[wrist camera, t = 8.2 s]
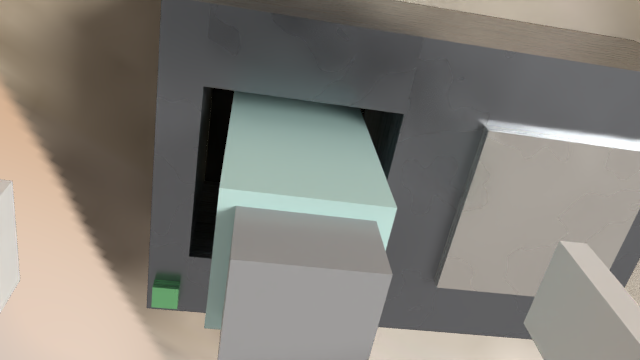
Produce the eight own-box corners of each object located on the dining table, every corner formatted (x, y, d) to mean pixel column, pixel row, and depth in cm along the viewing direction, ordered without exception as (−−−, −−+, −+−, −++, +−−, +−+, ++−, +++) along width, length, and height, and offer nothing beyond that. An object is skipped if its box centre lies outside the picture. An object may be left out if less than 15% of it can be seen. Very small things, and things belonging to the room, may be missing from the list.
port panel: (186, -35, 19) (158, -2, 14) (633, 40, 21) (738, 90, 16) (169, 225, 23) (144, 316, 19) (539, 263, 26) (600, 352, 21)
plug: (238, 64, 21) (211, 239, 11) (349, 80, 21) (416, 260, 11) (227, 164, 22) (194, 392, 13) (329, 177, 23) (373, 403, 13)
